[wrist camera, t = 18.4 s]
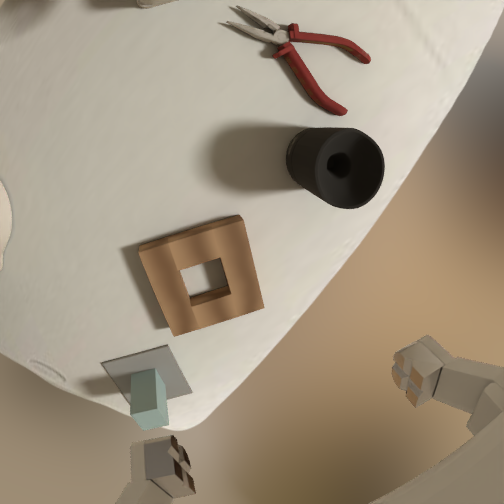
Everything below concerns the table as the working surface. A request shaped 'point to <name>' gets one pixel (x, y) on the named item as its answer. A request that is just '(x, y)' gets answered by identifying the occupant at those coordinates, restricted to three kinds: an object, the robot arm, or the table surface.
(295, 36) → the pliers
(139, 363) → the rubber mat
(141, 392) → the square plug
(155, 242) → the plug dock
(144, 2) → the phone holder
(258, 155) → the table surface
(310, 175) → the pen holder
